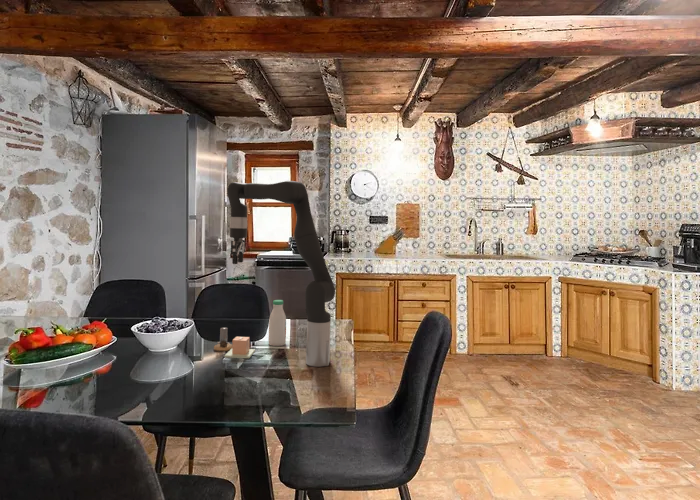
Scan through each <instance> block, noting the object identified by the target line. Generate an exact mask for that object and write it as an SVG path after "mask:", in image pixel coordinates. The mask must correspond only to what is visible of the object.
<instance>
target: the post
mask: <svg viewBox="0 0 700 500" xmlns="http://www.w3.org/2000/svg"><path fill="white" fill-rule="evenodd" d="M228 329H229V328H228V327H220V329H219V331H220V332H219V333H220V334H219V341H217V342H216V344H215V345H214V346H213V351H215V352H218V353H222V352H223V353H225V352H229V351H230V350H231V349H232V343H230V342H228Z"/></svg>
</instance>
